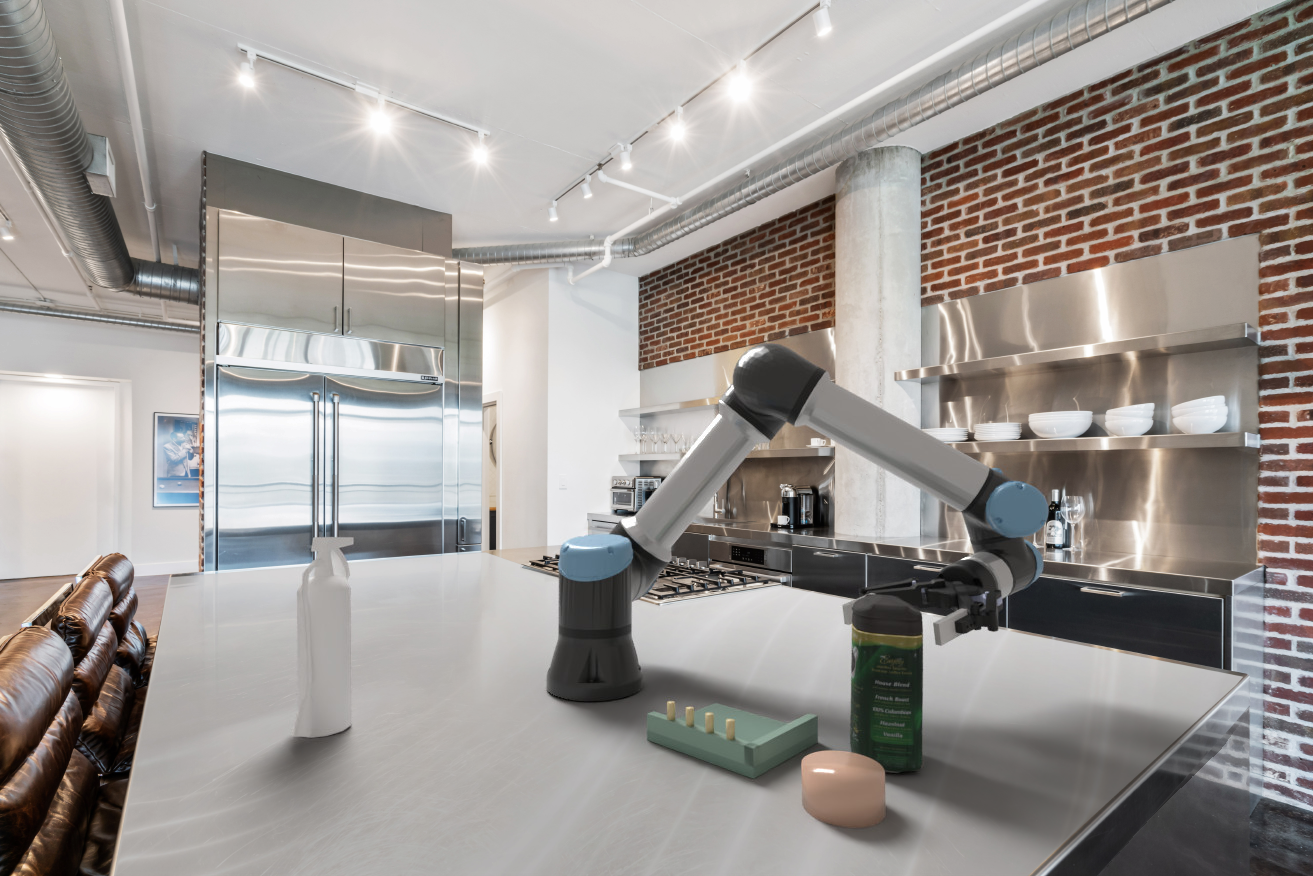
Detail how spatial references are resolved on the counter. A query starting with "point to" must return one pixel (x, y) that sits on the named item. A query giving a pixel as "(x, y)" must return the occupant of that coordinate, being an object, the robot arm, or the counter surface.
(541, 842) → the counter surface
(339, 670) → the white spray bottle
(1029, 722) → the counter surface
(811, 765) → the peach soap bar
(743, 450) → the robot arm
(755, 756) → the header tray
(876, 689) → the coffee jar
